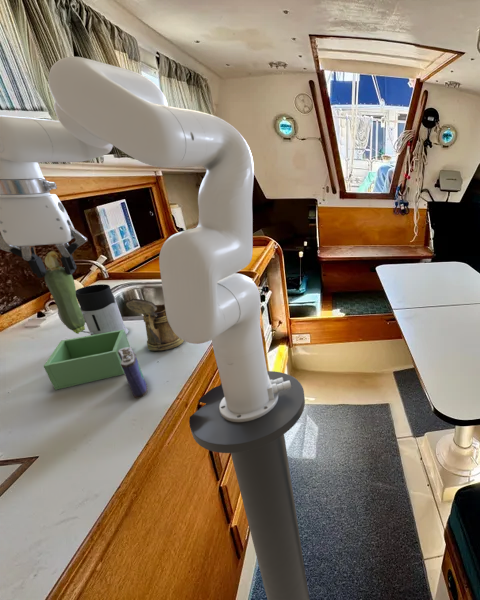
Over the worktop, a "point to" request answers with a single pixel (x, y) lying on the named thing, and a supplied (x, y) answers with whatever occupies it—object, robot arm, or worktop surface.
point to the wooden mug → (155, 325)
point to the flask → (133, 372)
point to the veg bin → (86, 359)
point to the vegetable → (64, 293)
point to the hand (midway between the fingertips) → (57, 273)
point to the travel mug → (99, 309)
